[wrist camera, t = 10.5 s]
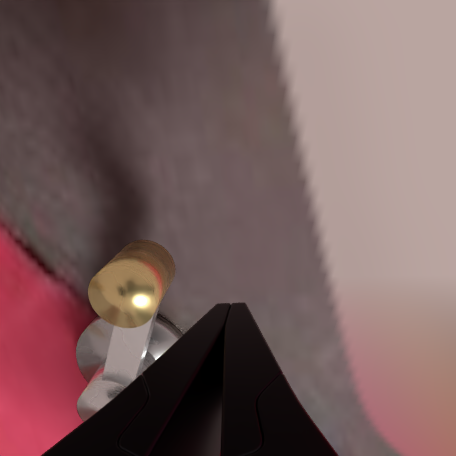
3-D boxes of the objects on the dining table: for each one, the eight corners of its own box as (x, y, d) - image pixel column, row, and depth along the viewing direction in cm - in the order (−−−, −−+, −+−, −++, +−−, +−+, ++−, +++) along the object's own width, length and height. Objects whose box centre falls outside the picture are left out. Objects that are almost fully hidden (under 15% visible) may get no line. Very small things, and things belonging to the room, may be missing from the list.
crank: (152, 393, 19) (114, 484, 14) (102, 376, 19) (49, 462, 14) (203, 231, 15) (174, 286, 10) (140, 209, 15) (82, 253, 10)
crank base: (199, 320, 18) (196, 329, 17) (187, 407, 20) (184, 419, 19) (81, 297, 18) (73, 305, 17) (85, 386, 20) (78, 396, 20)
